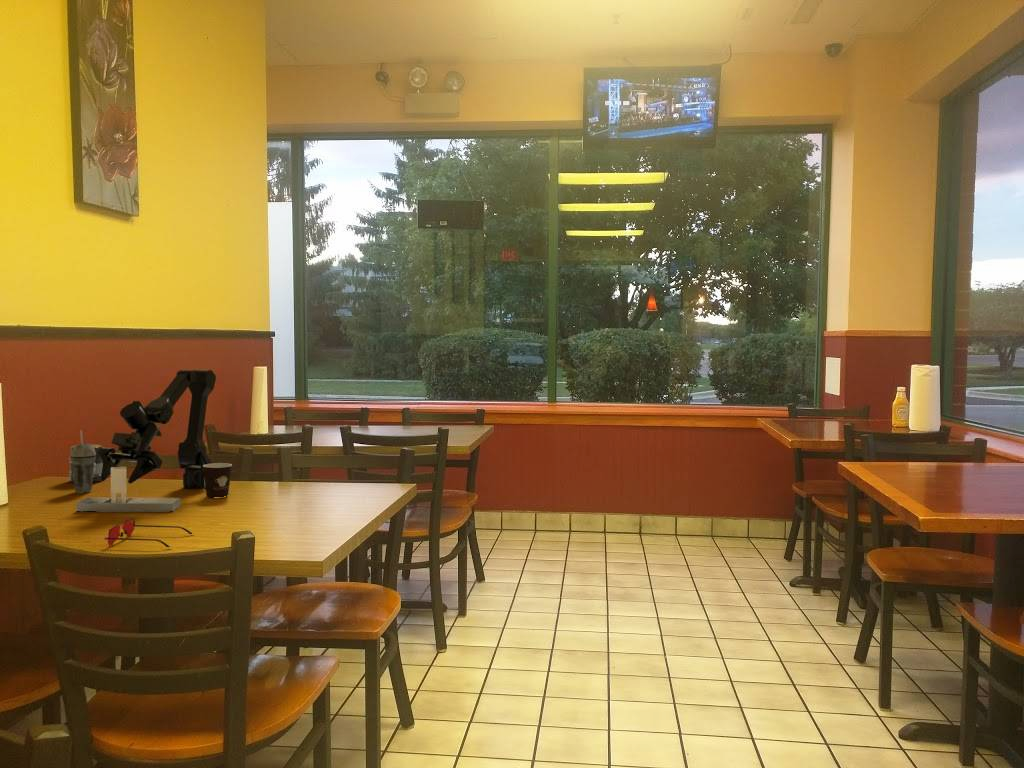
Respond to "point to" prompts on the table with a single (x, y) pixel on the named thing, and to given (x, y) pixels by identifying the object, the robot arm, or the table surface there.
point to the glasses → (128, 530)
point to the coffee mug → (216, 479)
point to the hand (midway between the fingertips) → (115, 481)
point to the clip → (118, 483)
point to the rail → (129, 505)
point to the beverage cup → (83, 466)
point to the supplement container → (97, 465)
